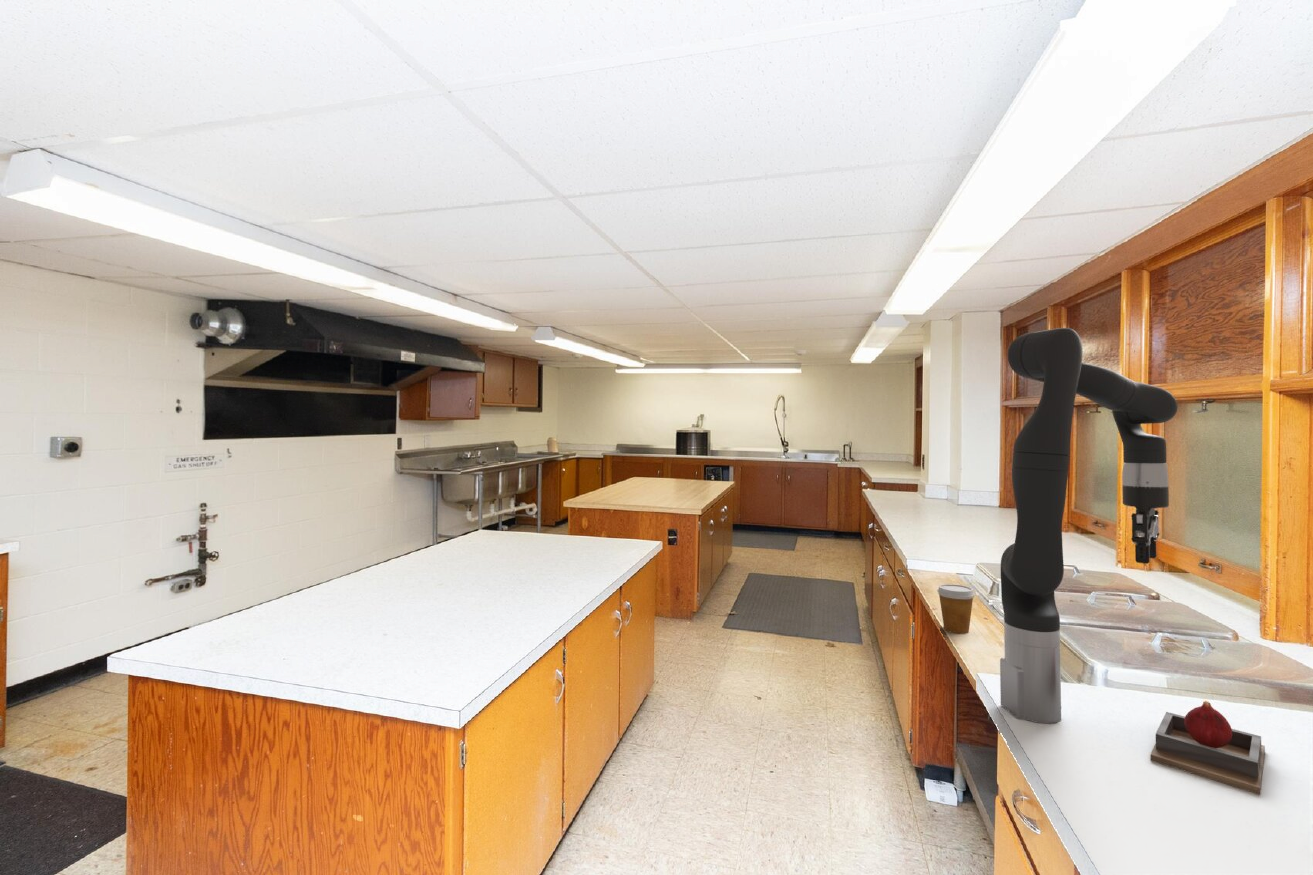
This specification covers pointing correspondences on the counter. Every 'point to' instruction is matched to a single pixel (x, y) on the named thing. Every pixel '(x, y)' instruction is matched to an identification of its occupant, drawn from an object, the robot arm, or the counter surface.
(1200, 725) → the onion
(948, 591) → the disposable coffee cup
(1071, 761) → the counter surface
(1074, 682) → the counter surface
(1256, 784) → the pocket board
